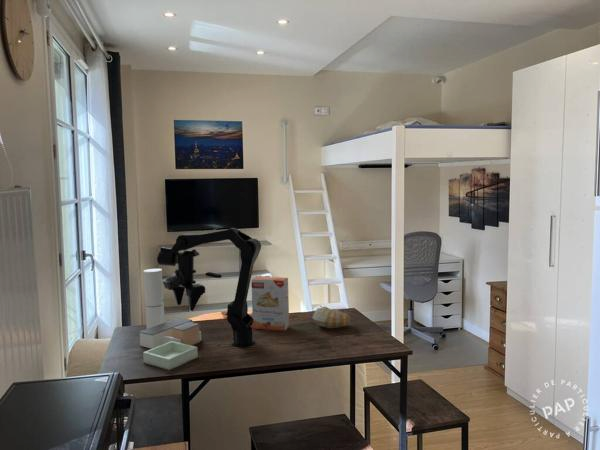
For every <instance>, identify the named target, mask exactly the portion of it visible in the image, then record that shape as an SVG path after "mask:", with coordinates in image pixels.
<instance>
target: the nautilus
mask: <svg viewBox="0 0 600 450" xmlns="http://www.w3.org/2000/svg"><path fill="white" fill-rule="evenodd" d="M312 319H313V322H314V323H315V324H316V325H317V326H319V327H322V328H326V329H338V328H341V327H346V326H347V325H349V324H350V322H351V320H352V319H351V317H350V316H349V315H348V314H347V313H345V312H342V311H341V310H340V309H335V308H333V309H330V308H329V307H327V306H322V305H319V307H317V308H316V309H315V311H314V313H313V315H312Z"/></svg>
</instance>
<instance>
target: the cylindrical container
mask: <svg viewBox="0 0 600 450" xmlns="http://www.w3.org/2000/svg"><path fill="white" fill-rule="evenodd" d="M143 286H144V287H143V288H144V303H145V321H146V322H145V323H146V329H148V328H151V327H154V326H157V325H160V324H163V323H165V322H166V319H165V301H164V284H163V269H162V268H148V269H144V270H143Z"/></svg>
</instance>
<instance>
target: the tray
mask: <svg viewBox="0 0 600 450" xmlns="http://www.w3.org/2000/svg"><path fill="white" fill-rule="evenodd" d="M198 353H199V352H198V346H195V345H187V344H182V343H178V342H174V341H171V342H168V343H165V344H163V345H160V346H158V347H155V348H153V349H151V348H149V349H148V350H146V351H143V352H142V355H143V357H142V358H143V363H144V364H147V365H150V366H154V367H156V368H157V367H158V368H161V369H164V370H168V371H171V370H173V369H176V368H177V367H181V366H182V365H184V364H186V363H189V362H191V361H193V360H195V359H197V358H198Z"/></svg>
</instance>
